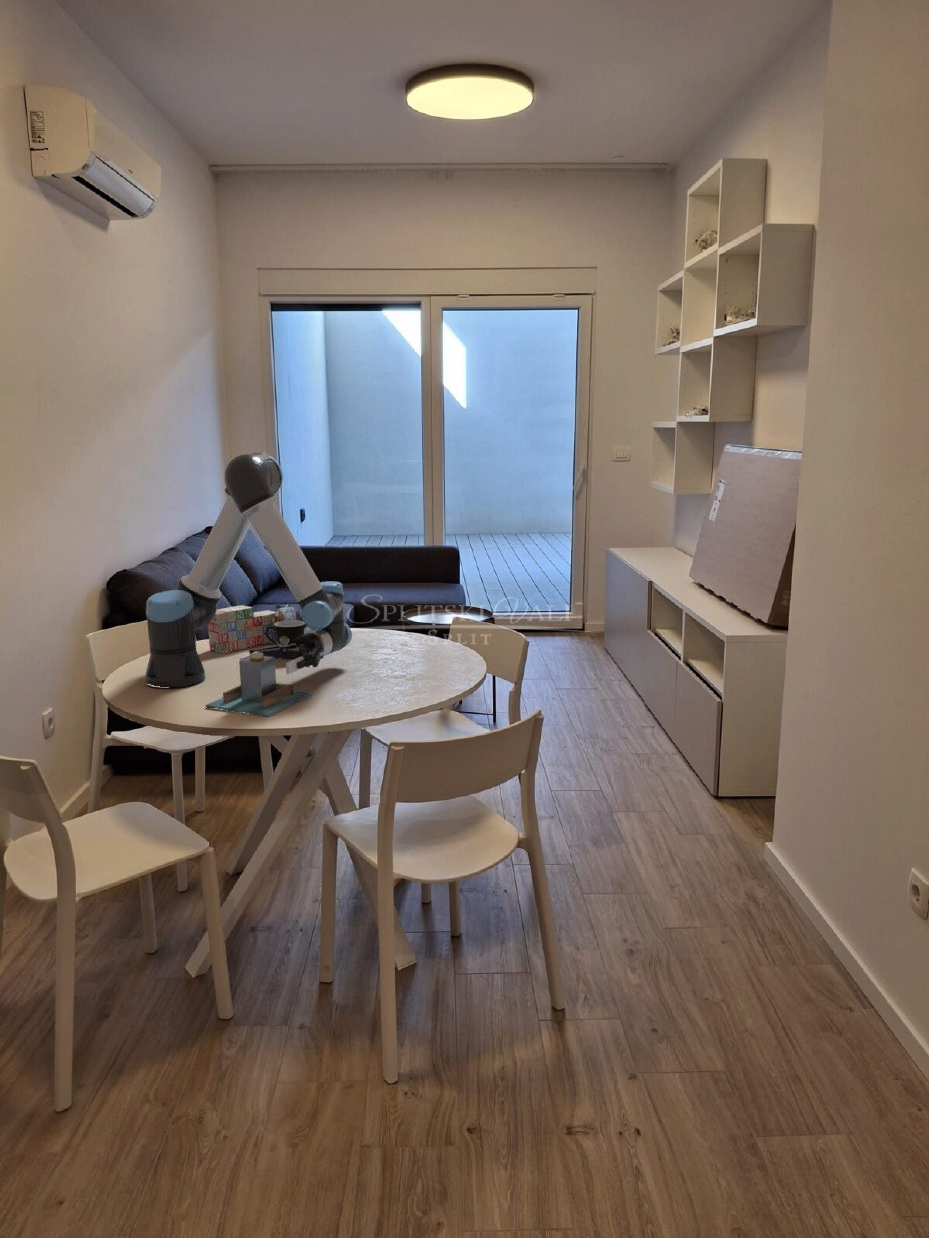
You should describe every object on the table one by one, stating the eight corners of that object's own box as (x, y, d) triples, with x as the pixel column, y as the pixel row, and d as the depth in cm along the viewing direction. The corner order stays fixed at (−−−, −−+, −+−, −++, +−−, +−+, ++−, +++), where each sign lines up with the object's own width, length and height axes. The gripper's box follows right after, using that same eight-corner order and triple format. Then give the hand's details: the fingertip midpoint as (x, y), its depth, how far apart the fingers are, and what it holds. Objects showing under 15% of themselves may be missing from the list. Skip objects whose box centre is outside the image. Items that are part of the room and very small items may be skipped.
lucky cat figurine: (316, 647, 267) (293, 610, 261) (283, 660, 270) (259, 624, 264) (327, 623, 280) (304, 587, 274) (295, 636, 283) (272, 601, 277)
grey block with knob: (241, 700, 212) (238, 655, 210) (256, 693, 218) (253, 650, 215) (262, 703, 210) (259, 658, 208) (276, 696, 216) (274, 652, 213)
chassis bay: (205, 708, 210) (204, 694, 209) (251, 687, 226) (250, 675, 225) (268, 716, 203) (267, 703, 202) (310, 695, 219) (310, 682, 218)
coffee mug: (312, 656, 257) (310, 623, 254) (288, 662, 250) (286, 628, 248) (288, 650, 264) (286, 617, 262) (264, 655, 258) (262, 622, 256)
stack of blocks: (270, 638, 279) (267, 600, 277) (281, 641, 275) (278, 602, 273) (209, 650, 265) (206, 610, 262) (219, 653, 260) (216, 613, 258)
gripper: (353, 664, 229) (308, 685, 210) (274, 655, 239) (224, 675, 220) (352, 636, 227) (306, 655, 208) (272, 628, 237) (222, 646, 218)
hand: (264, 665), depth 214 cm, fingers open, 13 cm apart
